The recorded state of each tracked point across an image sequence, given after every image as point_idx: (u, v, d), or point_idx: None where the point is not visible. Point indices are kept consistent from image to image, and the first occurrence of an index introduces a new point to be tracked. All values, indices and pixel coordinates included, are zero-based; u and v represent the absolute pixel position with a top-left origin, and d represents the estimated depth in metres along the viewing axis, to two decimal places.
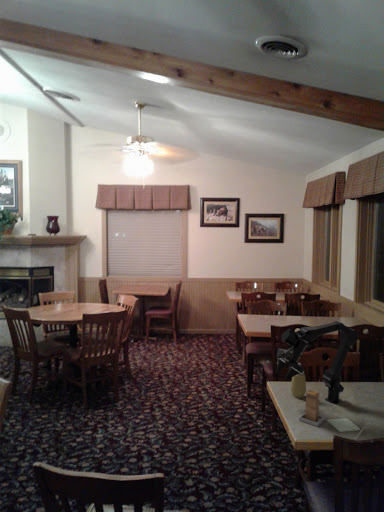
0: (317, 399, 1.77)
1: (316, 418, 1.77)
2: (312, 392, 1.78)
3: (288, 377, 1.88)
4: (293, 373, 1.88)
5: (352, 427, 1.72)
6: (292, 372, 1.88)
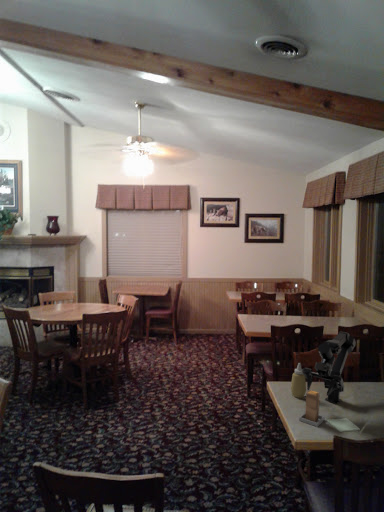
0: (317, 399, 1.77)
1: (316, 418, 1.77)
2: (312, 392, 1.78)
3: (330, 392, 1.80)
4: (333, 387, 1.82)
5: (352, 427, 1.72)
6: (332, 386, 1.82)
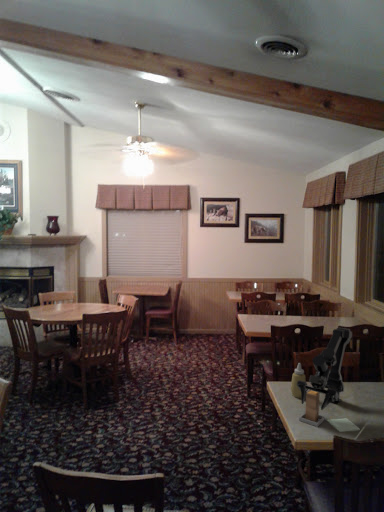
0: (317, 399, 1.77)
1: (316, 418, 1.77)
2: (312, 392, 1.78)
3: (324, 406, 1.75)
4: (328, 401, 1.77)
5: (352, 427, 1.72)
6: (327, 400, 1.77)
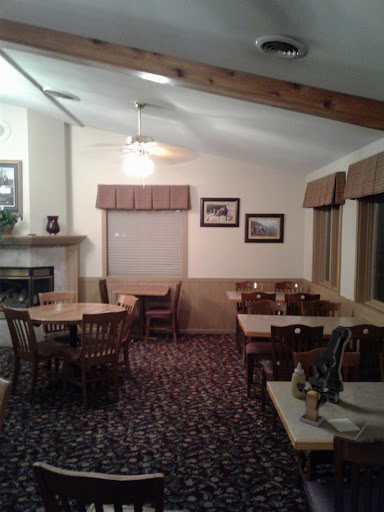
0: (317, 399, 1.77)
1: (316, 418, 1.77)
2: (312, 392, 1.78)
3: (319, 406, 1.76)
4: (322, 401, 1.78)
5: (352, 427, 1.72)
6: None
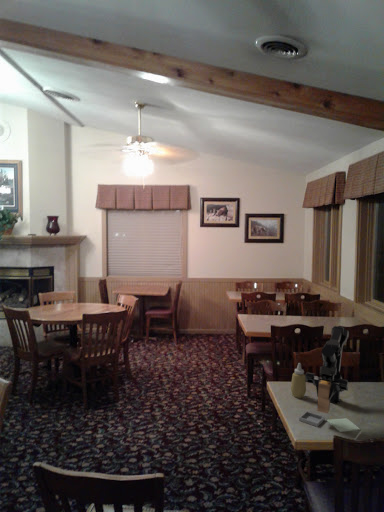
0: (329, 388, 1.75)
1: (328, 408, 1.75)
2: (324, 382, 1.75)
3: (331, 396, 1.74)
4: (334, 391, 1.76)
5: (352, 427, 1.72)
6: None
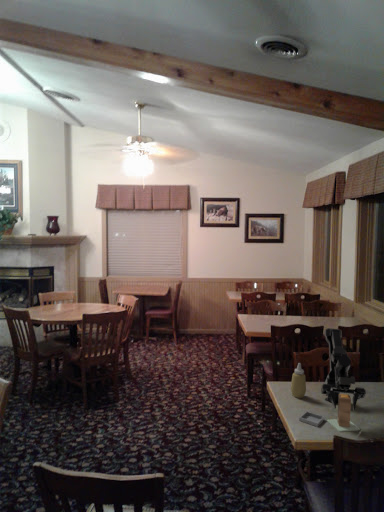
0: None
1: None
2: (344, 395, 1.74)
3: None
4: None
5: (352, 427, 1.72)
6: None
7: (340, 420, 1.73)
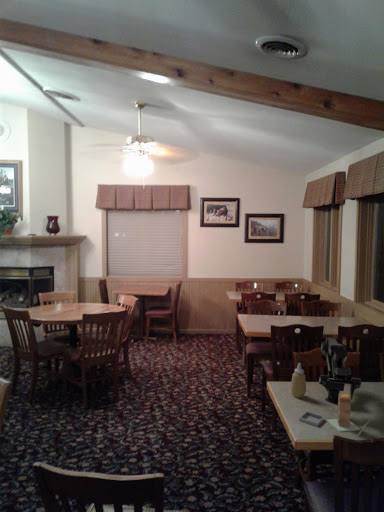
0: None
1: None
2: (344, 395, 1.74)
3: (352, 395, 1.82)
4: None
5: (352, 427, 1.72)
6: None
7: (340, 420, 1.73)
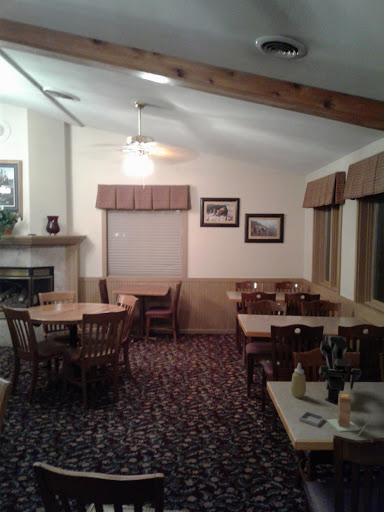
0: None
1: None
2: (344, 395, 1.74)
3: (352, 386, 1.83)
4: None
5: (352, 427, 1.72)
6: None
7: (340, 420, 1.73)
